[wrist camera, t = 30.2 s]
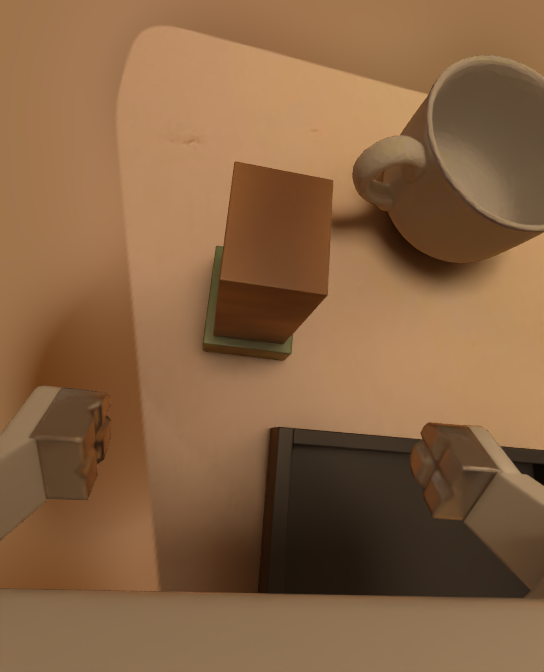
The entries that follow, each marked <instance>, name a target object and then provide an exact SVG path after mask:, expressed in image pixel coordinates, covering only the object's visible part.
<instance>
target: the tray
mask: <svg viewBox="0 0 544 672" xmlns="http://www.w3.org/2000/svg"><path fill="white" fill-rule="evenodd" d="M421 440H422V439H410V438H399V437H388V436H376V435H365V434H353V433H342V432H331V431H319V430H308V429H296V428H285V427H275V428H271V429H270V442H269V455H268V468H267V481H266V493H265V506H264V519H263V532H262V545H261V557H260V570H259V583H258V593H268V594H322V595H377V596H431V597H486V598H524V597H525V596H526V595H527V594H528V593H529V592H530V591H531V590H530V589H529V588H528V587H527V586H526V585H525V584H524V583H523V582H522V581H521V580H520V579H519V578H518V577H517V576H516V575H515V574H514V573H513V572H512V571H511V570H510V569H509V568H508V567H507V566H506V565H505V564H504V563H503V562H502V561H501V560H500V559H499V558H498V557H497V556H496V555H495V554H494V553H493V552H492V551H491V550H490V549H489V548H488V547H487V546H486V545H485V544H484V543H483V542H482V541H481V540H480V538H479V537H478V536H477V535H476V534H475V533H474V532H473V531H472V530H471V529H470V528H469V527H468V526H467V525H466V524H465V523H464V521H463V520H451V519H439V518H433V517H432V515H431V513H430V511H429V509H428V507H427V505H426V503H425V500H424V498H423V496H422V493H423V490H424V488H423V487H422V486H421V485H420V484H419V483H417V482H416V481H415V479H414V477H413V475H412V472H411V468H410V454H411V452H412V449H413V447H414V445H415V444H417V443H418V442H420V441H421ZM500 447H501V448H502V450H503V451H504V452H505V453H506V455H507V456H508V457H509V459H510V460H511V461H512V462H513V464H514V465H515V466H516V468H517V469H518V470H519V471H520V473H521V474H526V475H528V476H530V477H531V478H533V479H534V480H536V481H537V482H539V483H540V484H542V485H543V486H544V450H536V449H525V448H513V447H502V446H500Z"/></svg>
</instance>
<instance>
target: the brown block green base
mask: <svg viewBox="0 0 544 672" xmlns="http://www.w3.org/2000/svg"><path fill="white" fill-rule="evenodd" d="M332 193H333V180H328V179H323V178H318V177H313V176H308V175H303V174H298V173H292V172H287V171H282V170H277V169H272V168H267V167H261V166H256V165H251V164H246V163H241V162H235V163H234V170H233V178H232V185H231V193H230V201H229V208H228V216H227V224H226V231H225V239H224V247H222V246H216V250H215V258H214V265H213V272H212V280H211V287H210V294H209V302H208V309H207V317H206V324H205V331H204V339H203V350H204V351H210V352H218V353H227V354H235V355H244V356H252V357H260V358H269V359H277V360H285V359H286V358H287V357H288V356H289V355H290V354H291V353H292V339H293V333H294V332H295V331H296V330H297V329H298V328H299V326H300V325H301V324H302V323H303V322H304V321H305V320H306V319H307V317H308V316H309V315H310V314H311V313H312V312H313V311H314V310H315V309H316V307H317V306H318V305H319V304H320V303H321V302H322V301H323V300H324V299H325V297H326V296H327V295H328V276H329V255H330V234H331V214H332Z"/></svg>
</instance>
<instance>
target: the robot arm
mask: <svg viewBox="0 0 544 672" xmlns="http://www.w3.org/2000/svg"><path fill="white" fill-rule="evenodd" d="M110 406H111V404H110V395H109V394H108V393H106V392H97V391H89V390H80V389H71V388H59V387H50V386H39V387H37V388H35V390H34V391H33V392H32V393H31V395H30V396H29V397H28V399H27V400H26V401H25V402H24V404H23V405H22V407H21V408H20V409H19V410H18V412H17V413H16V414H15V416H14V417H13V418H12V420H11V421H10V422H9V424H8V425H7V426H6V428H5V429H4V430H3V432H2V433H1V434H0V540H2V539H3V538H4V537H5V536H6V535H7V534H9V533H10V532H11V531H12V530H13V529H14V528H16V527H17V526H18V525H19V524H20V523H21V522H23V521H24V520H25V519H26V518H27V517H28V516H30V515H31V514H32V513H33V512H34V511H35V510H37V509H38V508H39V507H40V506H41V505H43V504H44V503H45V502H46V499H70V500H71V499H72V500H88V498H89V495H90V493H91V491H92V488H93V485H94V483H95V481H96V478H97V476H98V470H97V464H98V463H100V462H101V461H102V460H104V458H105V455H106V453H107V450H108V446H109V442H110V438H111V437H110V436H111V419H109V417H108V416H107V413H108V411H109V408H110ZM421 436H422V439H423V440H421V441H420V442H418V443H417V444H415V445H414V447H413V449H412V452H411V454H410V468H411V472H412V475H413V477H414V479H415V481H416V482H417V483H419V484H420V485H421V486H422V487H423V488H424V490H423V493H422V496H423V498H424V500H425V503H426V505H427V507H428V509H429V511H430V513H431V515H432V517H433V518H439V519H451V520H463V521H464V523H465V524H466V525H467V526H468V527H469V528H470V529H471V530H472V531H473V532H474V533H475V534H476V535H477V536H478V537H479V538H480V540H481V541H482V542H483V543H484V544H485V545H486V546H487V547H488V548H489V549H490V550H491V551H492V552H493V553H494V554H495V555H496V556H497V557H498V558H499V559H500V560H501V561H502V562H503V563H504V564H505V565H506V566H507V567H508V568H509V569H510V570H511V571H512V572H513V573H514V574H515V575H516V576H517V577H518V578H519V579H520V580H521V581H522V582H523V583H524V584H525V585H526V586H527V587H528V588H529V589H530V590H531V591H530V592H529V593H528V594H527V595H526V596H525V597H524V598H486V597H431V596H377V595H322V594H268V593H214V592H161V591H109V590H107V591H106V590H55V589H54V590H53V589H4V588H3V589H2V588H0V672H544V486H543V485H542V484H540V483H539V482H537V481H536V480H534V479H533V478H531V477H530V476H528V475H526V474H521V473H520V471H519V470H518V469H517V468H516V466H515V465H514V464H513V462H512V461H511V460H510V459H509V457H508V456H507V455H506V453H505V452H504V451H503V450H502V448H501V447H500V446H499V445H498V443H497V442H496V441H495V439H494V438H493V437H492V436H491V434H490V433H489V432H488V430H486V429H485V428H483V427H482V426H471V425H454V424H442V423H430V422H429V423H427V424H426V425H425V426H424V427H423V429H422V431H421Z"/></svg>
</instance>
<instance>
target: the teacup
mask: <svg viewBox="0 0 544 672" xmlns="http://www.w3.org/2000/svg"><path fill="white" fill-rule="evenodd" d="M382 171H384V175H383V183H382V182H378V181H375V180H373V178H374V177H375V176H376V175H378V174H379V173H381V172H382ZM352 177H353V182H354V185H355V188H356V190H357V192H358V193H359V195H360V196H361V197H362V198H363V199H365V200H366V201H368V202H370V203H373V204H376V205H377V206H378V208H379V209H381V210H383V211H388V213H389V216H390V217H391V219H392V221H393V223H394V225H395V227H396V228H397V229H398V230H399V232H400V233H401V234H402V236H403V237H404V238H405V239H406V240H407V241H408V242H409V243H410V244H411V245H413V246H414V247H415V248H417V249H418V250H420V251H421V252H423V253H425V254H427V255H429V256H431V257H433V258H436V259H439V260H443V261H447V262H453V263H468V262H475V261H480V260H483V259H487V258H490V257H492V256H495V255H498V254H500V253H502V252H504V251H507V250H509V249H511V248H513V247H515V246H517V245H520V244H522V243H524V242H526V241H528V240H530V239H532V238H534V237H536V236H538V235H539V234H541V233H543V232H544V76H542V75H541V74H539V73H538V72H536V71H535V70H533V69H531V68H530V67H528V66H526V65H523V64H522V63H520V62H516V61H513V60H511V59H508V58H505V57H498V56H490V55H487V56H486V55H485V56H476V57H471V58H465V59H463V60H461V61H458V62H456V63H454V64H452V65H451V66H449V67H448V68H447V69H446V70H445V71H444V72H443V73H442V74H441V75H440V76H439V78H438V79H437V80H436V81H435V83H434V84H433V86H432V88H431V90H430V92H429V95H428V96H427V98H426V99H425V100H424V102H423V103H422V104H421V106H420V107H419V109H418V110H417V111H416V113H415V114H414V115H413V117H412V118H411V120H410V121H409V122H408V124H407V125H406V127H405V128H404V130H403V131H402V133H401V134H400V136H392V137H388V138H385V139H383V140H380V141H378V142H376V143H375V144H373V145H372V146H370V147H369V148H367V149H366V150H365V151H364V152H363V153H362V154H361V155H360V156H359V158H358V159H357V160H356V162H355V164H354V166H353V173H352Z"/></svg>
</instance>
